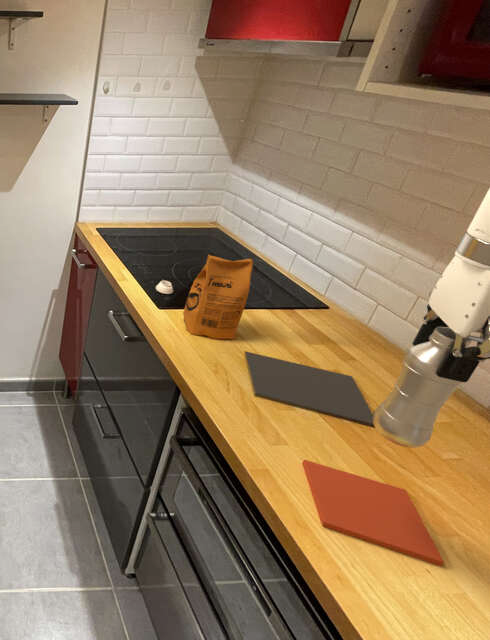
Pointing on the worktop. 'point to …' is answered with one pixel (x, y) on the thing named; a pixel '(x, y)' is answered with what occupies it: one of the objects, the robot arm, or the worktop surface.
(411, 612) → the worktop surface
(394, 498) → the terracotta tile
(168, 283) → the white ridged tapered disc
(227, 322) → the coffee package
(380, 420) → the plastic bottle
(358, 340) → the worktop surface
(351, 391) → the slate board
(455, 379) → the robot arm
